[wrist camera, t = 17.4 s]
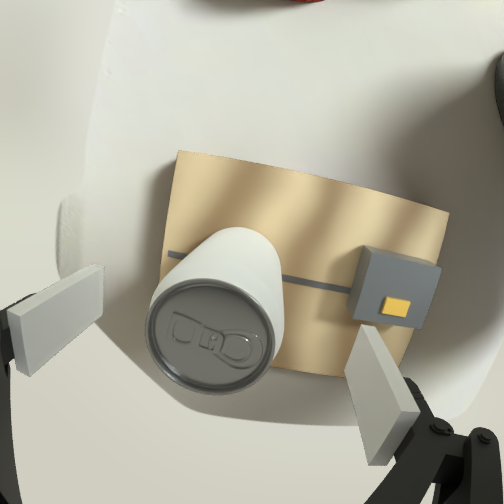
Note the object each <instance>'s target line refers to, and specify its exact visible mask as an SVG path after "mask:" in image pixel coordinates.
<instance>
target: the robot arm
mask: <svg viewBox="0 0 504 504" xmlns="http://www.w3.org/2000/svg"><path fill="white" fill-rule="evenodd" d="M495 92H496V99H497V104H498V109H499V112H500V116H501V119H502V122H503V125H504V54H503V55H502V57H501V58H500V60H499V62H498V65H497V68H496V74H495ZM104 269H105V267H103V266H99V265H96V264H91V265H89V266H87V267H85V268H83V269H81V270H79V271H77V272H76V273H74V274H72V275H70V276H68V277H66V278H64V279H62V280H60V281H58V282H56V283H55V284H53V285H51V286H49V287H47V288H45V289H43V290H42V291H40V292H38V293H34V294H30V295H28V296H26V297H24V298H23V299H22V300H19V301H17V302H16V303H13V304H12V305H10V306H8V307H6V308H5V309H3V310H1V311H0V504H22V500H21V496H20V491H19V485H18V479H17V474H16V466H15V458H14V449H13V440H12V426H11V408H10V407H11V406H10V365H9V362H10V361H11V360H12V359H15V364H16V368H17V370H18V371H20V372H21V373H24V374H25V375H27V376H29V377H31V376H32V375H33V374H34V373H35V372H36V371H37V370H38V369H40V368H41V367H42V366H43V365H44V364H45V363H46V362H48V361H49V360H50V359H51V358H52V357H53V356H55V355H56V354H57V353H58V352H59V351H60V350H62V349H63V348H64V347H65V346H66V345H67V344H68V343H70V342H71V341H72V340H73V339H74V338H76V337H77V336H78V335H79V334H80V333H82V332H83V331H84V330H85V329H86V328H87V327H89V326H90V325H91V324H92V323H94V322H95V321H96V320H97V319H98V318H100V317H101V316H102V315H103V295H104ZM344 372H345V376H346V380H347V383H348V387H349V391H350V394H351V398H352V402H353V406H354V409H355V413H356V417H357V421H358V425H359V429H360V433H361V437H362V441H363V445H364V449H365V453H366V457H367V462H368V465H374V466H377V465H378V466H379V465H380V466H385V465H387V464H388V463H389V461H390V460H391V458H392V457H393V455H394V457H395V460H396V464H395V465H394V466H393V468H392V469H391V470H390V472H389V473H388V474H387V476H386V477H385V478H384V480H383V481H382V482H381V484H380V485H379V486H378V487H377V489H376V490H375V491H374V492H373V494H372V495H371V496H370V497H369V498H368V500H367V501H366V502H365V503H364V504H420V503H421V501H422V499H423V497H424V496H425V494H426V492H427V490H428V488H429V486H430V485H431V483H436V484H435V491H434V496H433V501H432V504H503V489H502V488H503V486H502V472H501V461H500V451H499V442H498V439H497V437H496V436H495V434H494V433H493V432H492V431H490V430H489V429H486V428H481V427H478V428H475V429H473V430H472V431H471V433H470V434H469V436H463V435H458V434H454V430H453V428H452V426H451V425H450V424H449V423H448V422H446V421H445V420H443V419H440V418H437V417H434V415H433V413H432V412H431V410H430V408H429V406H428V404H427V402H426V401H425V400H424V397H423V395H422V394H421V391H420V390H419V388H418V386H417V385H416V384H415V383H414V382H413V381H412V380H411V379H410V378H405V377H402V375H401V373H400V371H399V369H398V367H397V365H396V364H395V362H394V360H393V358H392V356H391V354H390V353H389V351H388V349H387V347H386V345H385V343H384V342H383V340H382V338H381V336H380V335H379V333H378V331H377V329H376V327H374V326H368V325H363V324H361V326H360V329H359V332H358V334H357V337H356V340H355V343H354V346H353V348H352V351H351V354H350V356H349V359H348V362H347V364H346V367H345V369H344Z"/></svg>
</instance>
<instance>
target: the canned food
mask: <svg viewBox="0 0 504 504" xmlns="http://www.w3.org/2000/svg"><path fill="white" fill-rule="evenodd" d="M291 1H297V2H319V1H324V0H291Z"/></svg>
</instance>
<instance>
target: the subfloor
mask: <svg viewBox="0 0 504 504" xmlns="http://www.w3.org/2000/svg"><path fill="white" fill-rule="evenodd" d="M449 214H450V213H448V212H445V211H442V210H439V209H436V208H433V207H430V206H426V205H423V204H420V203H417V202H413V201H410V200H407V199H403V198H400V197H396V196H393V195H389V194H386V193H382V192H378V191H375V190H371V189H367V188H364V187H360V186H356V185H352V184H348V183H344V182H340V181H336V180H332V179H328V178H324V177H319V176H315V175H311V174H306V173H302V172H297V171H293V170H288V169H283V168H279V167H274V166H269V165H264V164H259V163H253V162H248V161H243V160H237V159H232V158H226V157H220V156H214V155H208V154H202V153H195V152H189V151H182V150H178V154H177V159H176V164H175V170H174V175H173V181H172V190H171V196H170V202H169V208H168V215H167V222H166V229H165V233H164V240H163V248H162V256H161V267H160V276H159V284H160V282H161V281H162V280H163V278H164V277H165V276H166V275H167V274H168V273H169V272H170V271H171V270H172V269H173V268H174V267H175V266H176V265H178V264H179V263H180V262H181V261H182V260H183V259H184V258H185V257H186V256H188V255H189V254H190V253H191V252H192V251H193V250H194V249H196V248H197V247H198V246H199V245H200V244H201V243H203V242H204V241H205V240H206V239H207V238H209V237H210V236H211V235H213V234H214V233H216V232H218V231H220V230H223V229H226V228H231V227H243V228H248V229H251V230H254V231H256V232H258V233H260V234H261V235H263V236H264V237H265V238H266V239H268V240H269V242H270V243H271V244H272V245H273V247H274V248H275V250H276V252H277V254H278V257H279V260H280V265H281V275H282V288H283V303H284V334H283V339H282V343H281V346H280V348H279V351H278V353H277V354H276V356H275V358H274V359H273V360H272V362H271V365H270V366H273V367H278V368H284V369H290V370H296V371H302V372H308V373H315V374H322V375H329V376H337V377H345V378H346V376H345V372H344V369H345V367H346V364H347V362H348V359H349V356H350V354H351V351H352V348H353V346H354V343H355V340H356V337H357V334H358V332H359V329H360V326H361V324H363V325H368V326H374V327H376V329H377V331H378V333H379V335H380V336H381V338H382V340H383V342H384V343H385V345H386V347H387V349H388V351H389V353H390V354H391V356H392V358H393V360H394V362H395V364H396V365H397V367H398V368H399V365H400V363H401V361H402V359H403V356H404V354H405V351H406V349H407V347H408V344H409V342H410V339H411V337H412V334H413V332H414V328H408V327H401V326H395V325H388V324H382V323H376V322H370V321H364V320H358V319H353V318H352V316H351V314H350V312H349V311H348V309H347V307H346V304H347V301H348V297H349V294H350V291H351V287H352V284H353V280H354V277H355V273H356V270H357V266H358V262H359V259H360V255H361V251H362V247H363V245H366V246H370V247H375V248H379V249H383V250H387V251H392V252H396V253H400V254H404V255H408V256H412V257H417V258H421V259H425V260H429V261H430V262H432V263H434V264H435V265H436V264H437V261H438V257H439V253H440V250H441V246H442V242H443V239H444V235H445V231H446V227H447V223H448V218H449Z"/></svg>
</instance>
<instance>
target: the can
mask: <svg viewBox="0 0 504 504" xmlns="http://www.w3.org/2000/svg"><path fill="white" fill-rule="evenodd" d="M283 334H284V303H283V288H282V275H281V265H280V260H279V257H278V254H277V252H276V250H275V248H274V247H273V245H272V244H271V243H270V242H269V240H268V239H266V238H265V237H264V236H263V235H261V234H260V233H258V232H256V231H254V230H251V229H248V228H243V227H231V228H226V229H223V230H220V231H218V232H216V233H214V234H213V235H211V236H210V237H209V238H207V239H206V240H205V241H204V242H203V243H201V244H200V245H199V246H198V247H197V248H196V249H194V250H193V251H192V252H191V253H190V254H189V255H188V256H186V257H185V258H184V259H183V260H182V261H181V262H180V263H179V264H178V265H176V266H175V267H174V268H173V269H172V270H171V271H170V272H169V273H168V274H167V275H166V276H165V277H164V278H163V280H162V281H161V282H160V284H159V285H158V287H157V288H156V290H155V292H154V294H153V296H152V299H151V303H150V307H149V312H148V315H147V318H146V323H145V337H146V342H147V346H148V349H149V352H150V354H151V356H152V358H153V360H154V361H155V363H156V364H157V366H158V367H159V368H160V369H161V371H162V372H163V373H164V374H165V375H166V376H168V377H169V378H170V379H171V380H173V381H174V382H175V383H177V384H179V385H180V386H182V387H184V388H186V389H189V390H191V391H194V392H197V393H201V394H207V395H227V394H232V393H236V392H239V391H242V390H244V389H246V388H248V387H250V386H252V385H253V384H255V383H256V382H257V381H258V380H259V379H261V378H262V376H263V375H264V374H265V373H266V371H267V370H268V368H269V367H270V365H271V362H272V360H273V359H274V358H275V356H276V354H277V353H278V351H279V348H280V346H281V343H282V339H283Z"/></svg>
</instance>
